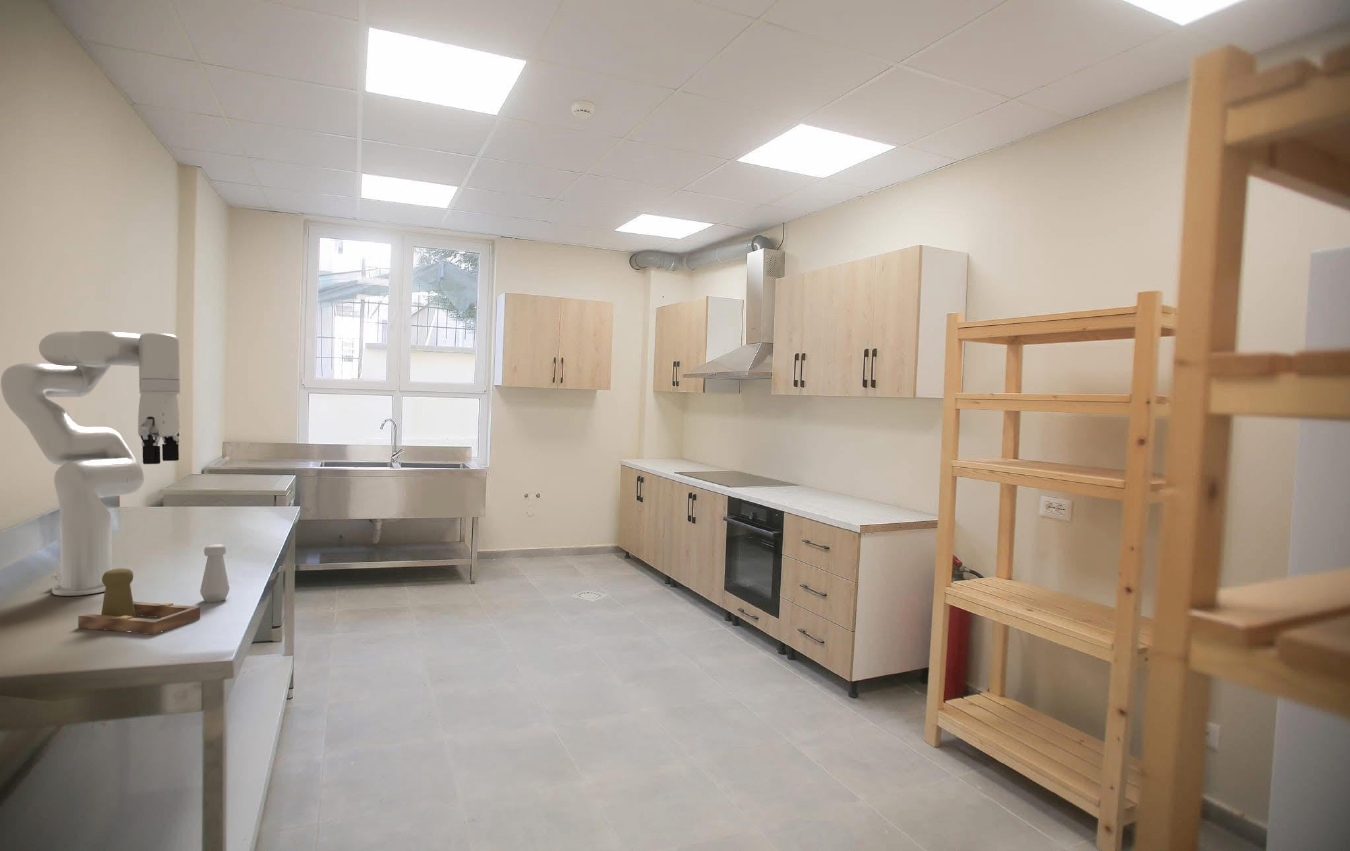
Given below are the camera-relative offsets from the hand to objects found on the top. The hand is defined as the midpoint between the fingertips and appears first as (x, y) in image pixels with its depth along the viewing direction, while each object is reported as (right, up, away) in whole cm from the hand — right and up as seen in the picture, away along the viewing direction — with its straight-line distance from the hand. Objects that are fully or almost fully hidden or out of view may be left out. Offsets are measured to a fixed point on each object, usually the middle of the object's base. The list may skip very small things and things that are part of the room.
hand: (161, 462), depth 164 cm
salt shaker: (+10, -33, +4) cm, 34 cm away
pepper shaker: (0, -33, -13) cm, 36 cm away
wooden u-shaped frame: (+5, -33, -14) cm, 36 cm away
